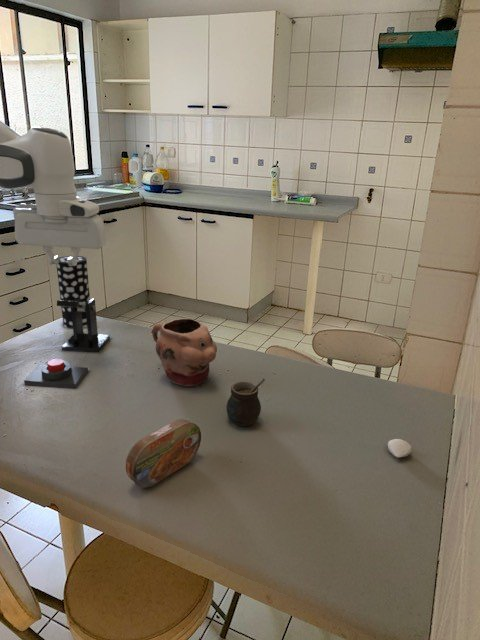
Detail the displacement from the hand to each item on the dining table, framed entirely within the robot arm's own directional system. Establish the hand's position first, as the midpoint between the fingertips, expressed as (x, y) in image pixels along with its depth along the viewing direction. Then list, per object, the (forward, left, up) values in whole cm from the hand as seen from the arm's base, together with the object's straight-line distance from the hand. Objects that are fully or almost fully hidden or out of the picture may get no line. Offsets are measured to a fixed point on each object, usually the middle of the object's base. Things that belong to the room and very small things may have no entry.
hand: (63, 264), depth 110 cm
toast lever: (0, +4, -13) cm, 14 cm away
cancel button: (0, -10, -22) cm, 25 cm away
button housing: (0, -10, -25) cm, 27 cm away
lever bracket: (0, +9, -25) cm, 27 cm away
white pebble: (+75, -30, -25) cm, 85 cm away
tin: (+32, -39, -25) cm, 56 cm away
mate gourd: (+45, -22, -25) cm, 56 cm away
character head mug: (+29, -5, -25) cm, 39 cm away
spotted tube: (-8, +23, -25) cm, 35 cm away
